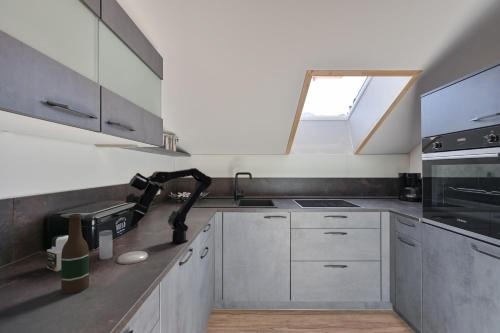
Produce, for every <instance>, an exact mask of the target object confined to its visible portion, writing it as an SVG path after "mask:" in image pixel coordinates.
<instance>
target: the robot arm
mask: <svg viewBox="0 0 500 333" xmlns="http://www.w3.org/2000/svg"><path fill="white" fill-rule="evenodd" d="M186 177H192V178H193V179H194V181H195V183H194V188H193V190H192V191H191V192H190V194H189V195H188V197H187V198H186V199H185V201H184V202H183V203H182V204H181V206H180V208H179V209H178V210H173V211H171V214H170V215H169V216H168V219H167V224H168V226H169V227H171V228H170V229H171V230H172V241H170V244H176V245H182V244H185V243H187V242H188V241H189V239H187V232H188V229H189V226H188V225H187V224H186V223H185V222H186V220H187V216H188V213H189V212H190V210H191V209H192V208H193V206H194V205H195V204H196V201H197V200H198V199H199V198H200V196H201V195H202V193H203V192H204V191H206V190H207V189H208V188H210V186H211V185H213V184H212V183H213V179H212V177H211V176H210V175H206V174H205V173H203V172H202V171H201V170H199V169H198V168H196V167H191V168H188V169H180V170H174V171H173V170H172V171H162V170H161V171H157V170H156V171H153V173H152V174H151V175H149V176H147V177H146V176H144V175H142V174H141V173H139V172H136V173H135V175H134V176H132V177H131V179H130V180H129V183H128V186H129V187H131V188H133V189H135V190H138V191H140V192H142V191H143V190H144V191H143V192H142V194H140V196H135V193H129V195H126V197H125V201H124V202H125V204H130V203H131V204H134V205H133V206H132V212H133V216H132V219H131V221H130V224H129V227H130V228H133V227H135V225H137V224H138V223H139V222H140V221H141V220H142V219H143V218H145V216H147V214H148V212H149V209H150V207H151V206H152V204H153V202H154V200H155V199H156V196H157V195H158V193H159V191H162V192H164V191H165V189H164V187H163V186H164V185H163V184H164V183H167V182H170V181H172V180H174V179H176V180H177V179H182V178H186ZM159 184H160V185H159Z"/></svg>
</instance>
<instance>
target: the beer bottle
mask: <svg viewBox="0 0 500 333" xmlns="http://www.w3.org/2000/svg"><path fill="white" fill-rule="evenodd" d="M82 218H83V217H82V214H81V213H72V214H69V215H68V220H69V223H68V234H67V235H68V240H67V242H66V243H65V244H64V246H63V249H62V255H61V270H60V273H61V274H60V275H61V279H60V280H61V283H60V284H61V286H60V287H61V294H62V295H69V296H70V295H75V294H80V293H82V292H83V291H85V290H88V289H89V287H90V251H89V249H90V248H89V245H88V243H87V241H86V240H85V239H84V237H83V232H82V220H81V219H82Z"/></svg>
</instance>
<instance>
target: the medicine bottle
mask: <svg viewBox="0 0 500 333" xmlns="http://www.w3.org/2000/svg"><path fill="white" fill-rule="evenodd" d="M68 235H69V234H62V235H56V236H54V237H53V238H52V239H51V248H49V249H46V268H47V269H49V270H52V271H54V272H61V255H62V249H63V246H64V244H65V243H66V242H67V240H68Z"/></svg>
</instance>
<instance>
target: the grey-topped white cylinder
mask: <svg viewBox="0 0 500 333" xmlns="http://www.w3.org/2000/svg"><path fill="white" fill-rule="evenodd" d="M98 235H99V237H98V238H99V240H98V241H99V244H98V245H99V259H100V260H108V259H111V258H112V257H113V230H111V229H110V230H108V229H107V230H101V231H99V232H98Z"/></svg>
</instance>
